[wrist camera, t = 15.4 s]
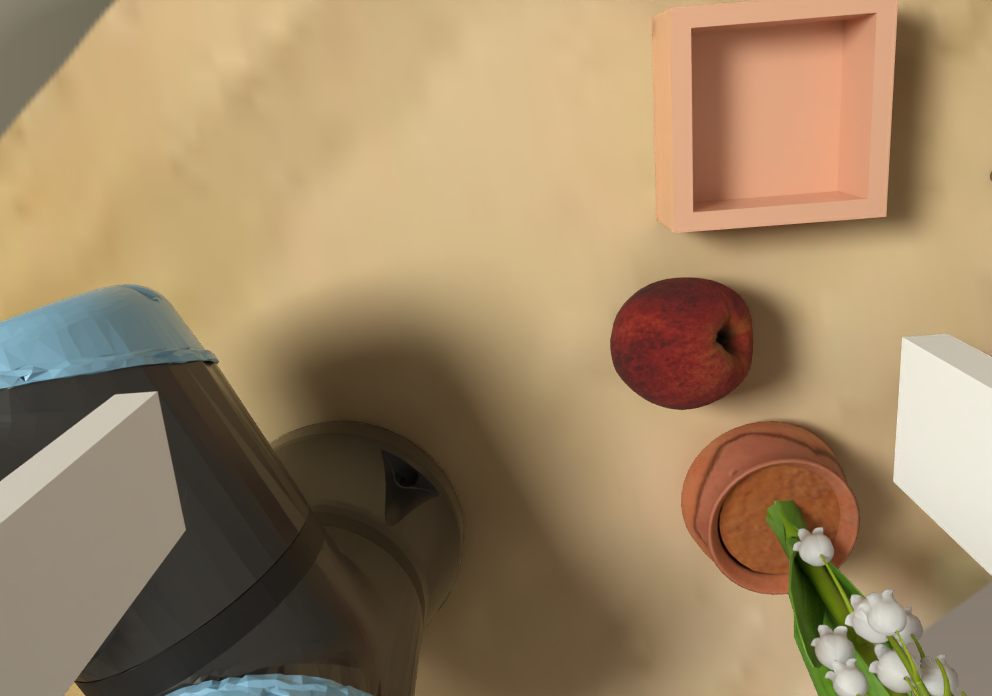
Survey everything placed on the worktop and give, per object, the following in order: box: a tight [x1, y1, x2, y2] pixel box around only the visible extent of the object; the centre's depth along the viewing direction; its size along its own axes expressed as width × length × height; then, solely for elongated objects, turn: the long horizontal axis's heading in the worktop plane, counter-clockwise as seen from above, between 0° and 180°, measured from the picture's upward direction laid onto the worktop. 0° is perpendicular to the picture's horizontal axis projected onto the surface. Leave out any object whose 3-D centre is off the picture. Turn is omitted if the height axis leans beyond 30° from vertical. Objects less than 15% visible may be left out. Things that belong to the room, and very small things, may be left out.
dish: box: [652, 0, 898, 233], centre depth 44 cm, size 11×11×5 cm
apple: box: [610, 278, 753, 410], centre depth 46 cm, size 7×8×8 cm
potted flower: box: [681, 422, 966, 696], centre depth 41 cm, size 12×10×25 cm
